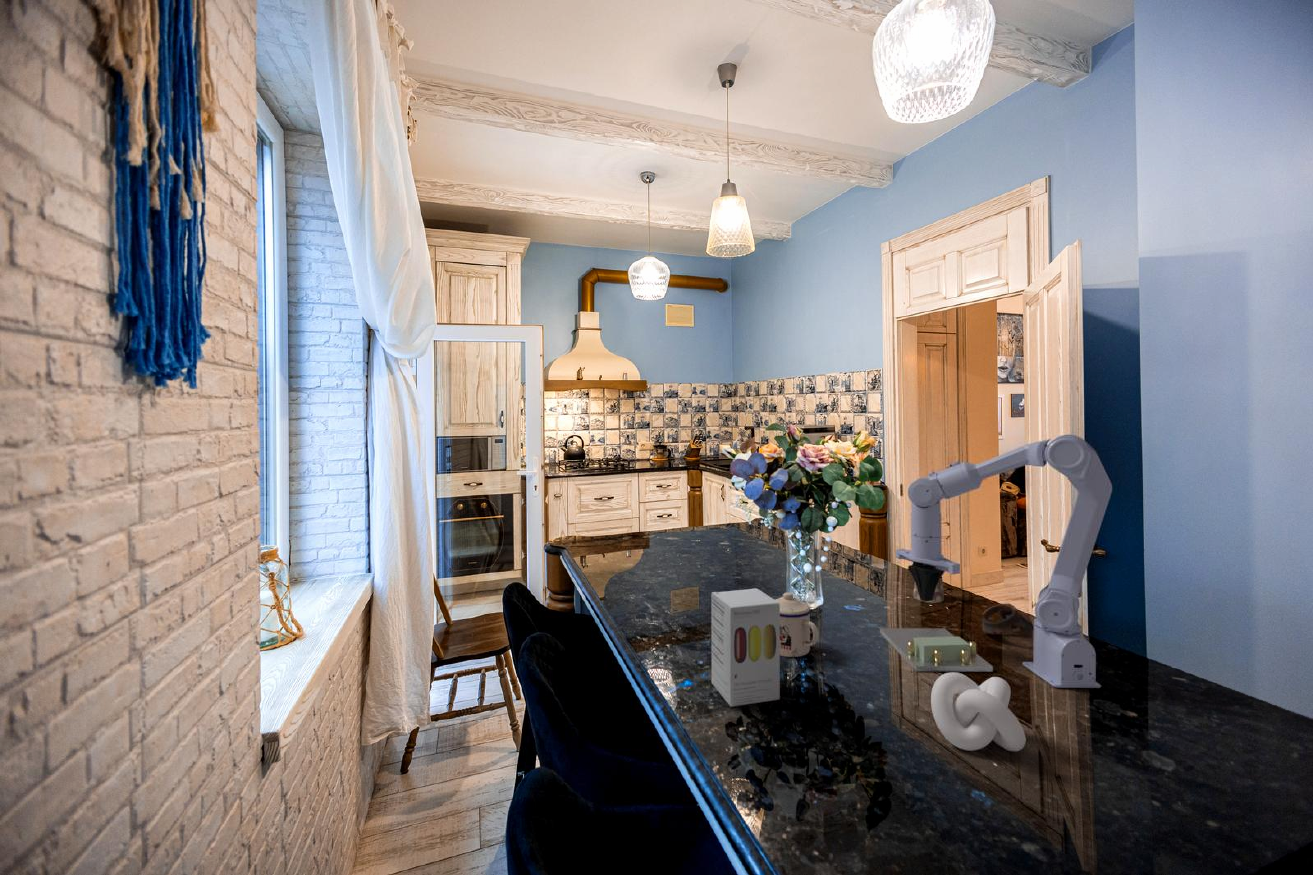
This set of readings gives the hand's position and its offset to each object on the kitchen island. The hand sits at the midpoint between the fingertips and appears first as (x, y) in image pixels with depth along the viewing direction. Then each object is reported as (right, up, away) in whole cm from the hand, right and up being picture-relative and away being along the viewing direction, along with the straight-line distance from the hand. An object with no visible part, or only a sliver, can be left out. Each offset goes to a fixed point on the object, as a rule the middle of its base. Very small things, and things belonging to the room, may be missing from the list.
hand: (926, 600), depth 116 cm
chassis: (0, -10, -2) cm, 10 cm away
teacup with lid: (-28, -10, -1) cm, 30 cm away
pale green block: (-1, -9, -7) cm, 11 cm away
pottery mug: (+20, -10, +4) cm, 23 cm away
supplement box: (-41, -11, -18) cm, 46 cm away
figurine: (+15, -9, +31) cm, 35 cm away
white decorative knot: (-8, -11, -33) cm, 36 cm away
